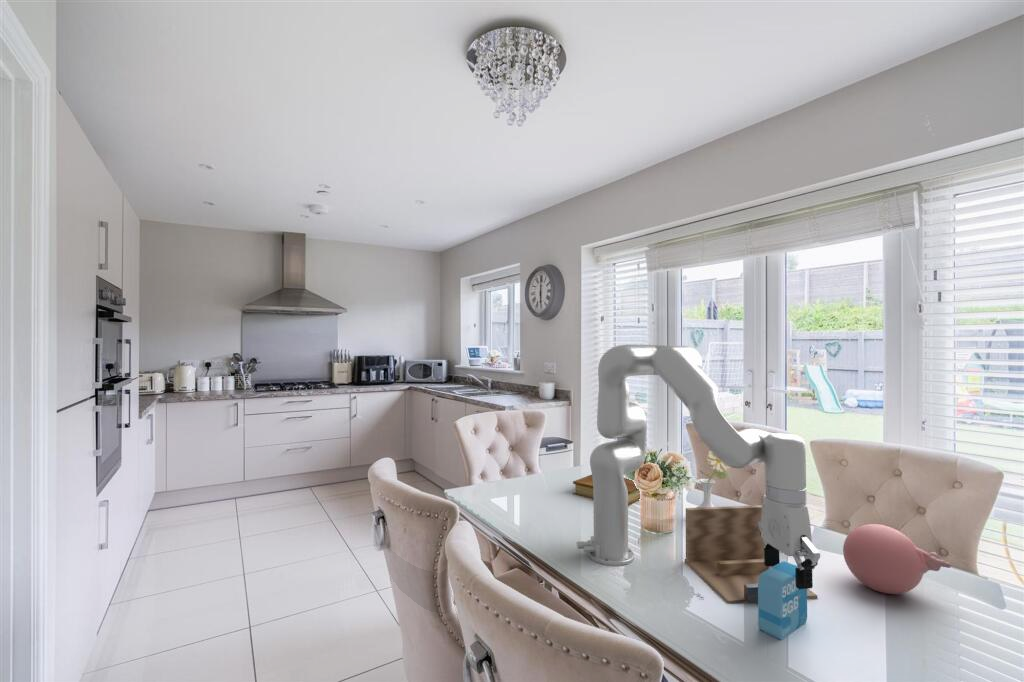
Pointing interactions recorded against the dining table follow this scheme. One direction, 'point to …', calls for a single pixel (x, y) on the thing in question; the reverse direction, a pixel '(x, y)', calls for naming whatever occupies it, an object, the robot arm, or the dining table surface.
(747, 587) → the grey rectangular bar
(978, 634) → the dining table surface
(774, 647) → the dining table surface
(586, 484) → the diary
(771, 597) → the data package
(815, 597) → the shelf
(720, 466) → the flower in vase
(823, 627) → the dining table surface
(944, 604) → the dining table surface
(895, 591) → the balloon
